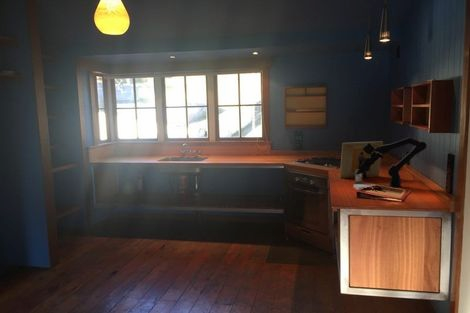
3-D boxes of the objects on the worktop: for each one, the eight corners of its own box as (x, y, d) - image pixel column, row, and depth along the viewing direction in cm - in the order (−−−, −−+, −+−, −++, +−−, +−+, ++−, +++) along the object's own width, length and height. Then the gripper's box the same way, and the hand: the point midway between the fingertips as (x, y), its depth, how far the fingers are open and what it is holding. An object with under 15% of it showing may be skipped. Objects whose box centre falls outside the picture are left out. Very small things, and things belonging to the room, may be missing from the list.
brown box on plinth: (363, 182, 278) (363, 169, 277) (362, 184, 272) (362, 170, 271) (354, 182, 280) (354, 169, 279) (354, 183, 275) (354, 170, 273)
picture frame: (378, 176, 312) (378, 140, 309) (383, 178, 302) (383, 141, 299) (339, 178, 311) (339, 142, 308) (343, 179, 301) (343, 143, 298)
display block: (372, 186, 271) (372, 183, 270) (378, 189, 261) (378, 186, 260) (353, 187, 270) (353, 184, 270) (358, 189, 260) (358, 187, 260)
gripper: (364, 149, 281) (349, 164, 286) (363, 152, 263) (347, 167, 269) (375, 160, 279) (360, 174, 284) (375, 163, 261) (359, 178, 267)
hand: (356, 173), depth 276 cm, fingers closed on brown box on plinth, 4 cm apart
